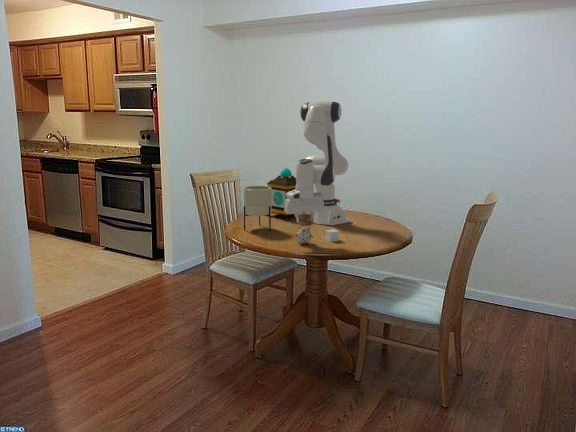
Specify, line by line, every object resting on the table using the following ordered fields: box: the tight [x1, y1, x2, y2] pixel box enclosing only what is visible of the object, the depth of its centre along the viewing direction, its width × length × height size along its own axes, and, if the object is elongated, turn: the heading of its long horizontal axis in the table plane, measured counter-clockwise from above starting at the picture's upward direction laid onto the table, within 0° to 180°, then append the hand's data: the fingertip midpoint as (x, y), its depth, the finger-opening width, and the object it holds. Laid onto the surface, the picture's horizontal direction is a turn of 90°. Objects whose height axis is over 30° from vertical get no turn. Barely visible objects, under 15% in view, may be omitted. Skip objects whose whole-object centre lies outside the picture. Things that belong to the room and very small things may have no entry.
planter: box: [243, 185, 273, 232], centre depth 255 cm, size 15×16×23 cm
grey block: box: [325, 228, 340, 243], centre depth 235 cm, size 5×5×5 cm
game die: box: [296, 226, 314, 245], centre depth 228 cm, size 9×8×10 cm
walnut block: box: [297, 212, 313, 227], centre depth 226 cm, size 5×5×5 cm
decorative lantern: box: [266, 167, 304, 221], centre depth 286 cm, size 20×20×30 cm
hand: (304, 221), depth 226 cm, fingers closed on walnut block, 5 cm apart
